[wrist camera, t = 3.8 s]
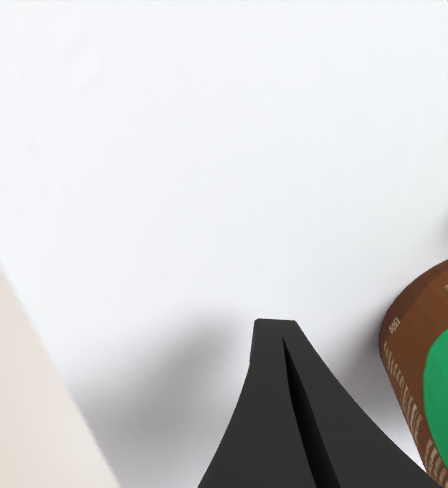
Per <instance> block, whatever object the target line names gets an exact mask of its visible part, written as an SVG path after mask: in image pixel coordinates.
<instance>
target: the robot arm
mask: <svg viewBox="0 0 448 488" xmlns="http://www.w3.org/2000/svg"><path fill="white" fill-rule="evenodd" d="M198 488H443V487H441V486H440V485H439V484H438V483H437V482H436V481H435V480H433V479H432V478H431V477H430V476H429V475H428V474H427V473H426V472H425V471H424V470H422V469H421V468H420V467H419V466H418V465H417V464H416V463H415V462H414V461H413V460H412V459H411V458H409V457H408V456H407V455H406V454H405V453H404V452H403V451H402V450H401V449H400V448H399V447H398V446H397V445H396V444H395V443H394V442H393V441H392V440H391V439H390V438H389V437H388V436H387V435H386V434H385V433H384V432H383V431H382V430H381V429H380V428H379V427H378V426H377V425H376V424H375V423H374V422H373V421H372V420H371V419H370V418H369V417H368V416H367V414H366V413H365V412H364V411H363V410H362V409H361V408H360V407H359V405H358V404H357V403H356V402H355V401H354V400H353V398H352V397H351V396H350V395H349V394H348V392H347V391H346V390H345V389H344V388H343V386H342V385H341V384H340V383H339V381H338V380H337V379H336V378H335V376H334V375H333V374H332V372H331V371H330V370H329V368H328V367H327V366H326V364H325V363H324V362H323V360H322V359H321V358H320V356H319V355H318V353H317V352H316V351H315V349H314V348H313V346H312V345H311V343H310V342H309V340H308V339H307V337H306V336H305V334H304V333H303V331H302V330H301V328H300V327H299V325H298V324H297V322H296V321H294V320H276V319H259V318H258V319H257V320H255V321H254V329H253V337H252V345H251V353H250V365H249V369H248V373H247V376H246V379H245V382H244V385H243V388H242V391H241V394H240V397H239V400H238V403H237V405H236V408H235V410H234V413H233V415H232V418H231V420H230V422H229V425H228V427H227V429H226V431H225V434H224V436H223V438H222V440H221V443H220V445H219V447H218V449H217V451H216V453H215V455H214V457H213V459H212V461H211V463H210V465H209V467H208V469H207V471H206V473H205V474H204V476H203V478H202V480H201V482H200V484H199V486H198Z"/></svg>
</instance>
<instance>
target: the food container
mask: <svg viewBox="0 0 448 488" xmlns="http://www.w3.org/2000/svg"><path fill="white" fill-rule="evenodd" d="M379 351H380V357H381V359H382V362H383V364H384V367H385V369H386V372H387V374H388V377H389V379H390V382H391V384H392V387H393V389H394V392H395V394H396V397H397V399H398V402H399V404H400V407H401V409H402V412H403V414H404V417H405V419H406V422H407V424H408V427H409V429H410V432H411V435H412V437H413V440H414V442H415V445H416V447H417V450H418V452H419V455H420V457H421V460H422V462H423V465H424V467H425V470H426V472H427V474H428V475H429V476H430V477H431V478H432V479H433V480H435V481H436V482H437V483H438V484H439V485H440V486H441V487H443V488H448V260H446V261H444V262H442V263H440V264H438V265H436V266H434V267H432V268H431V269H429V270H428V271H426V272H425V273H423V274H422V275H420V276H419V277H418V278H417V279H415V280H414V281H413V282H412V283H411V284H410V285H408V286H407V287H406V288H405V289H404V290H403V292H402V293H401V294H400V295H399V296H398V297H397V298H396V300H395V301H394V302H393V304H392V305H391V307H390V308H389V310H388V312H387V314H386V316H385V318H384V320H383V322H382V326H381V330H380V334H379Z"/></svg>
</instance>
